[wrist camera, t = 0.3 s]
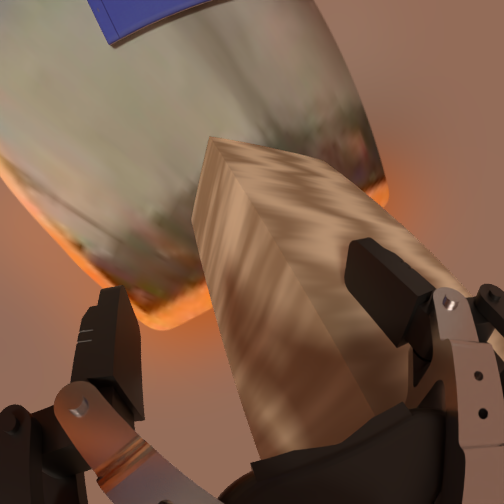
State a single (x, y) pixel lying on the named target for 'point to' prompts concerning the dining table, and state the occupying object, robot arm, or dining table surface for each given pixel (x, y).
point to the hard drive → (134, 14)
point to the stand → (300, 293)
